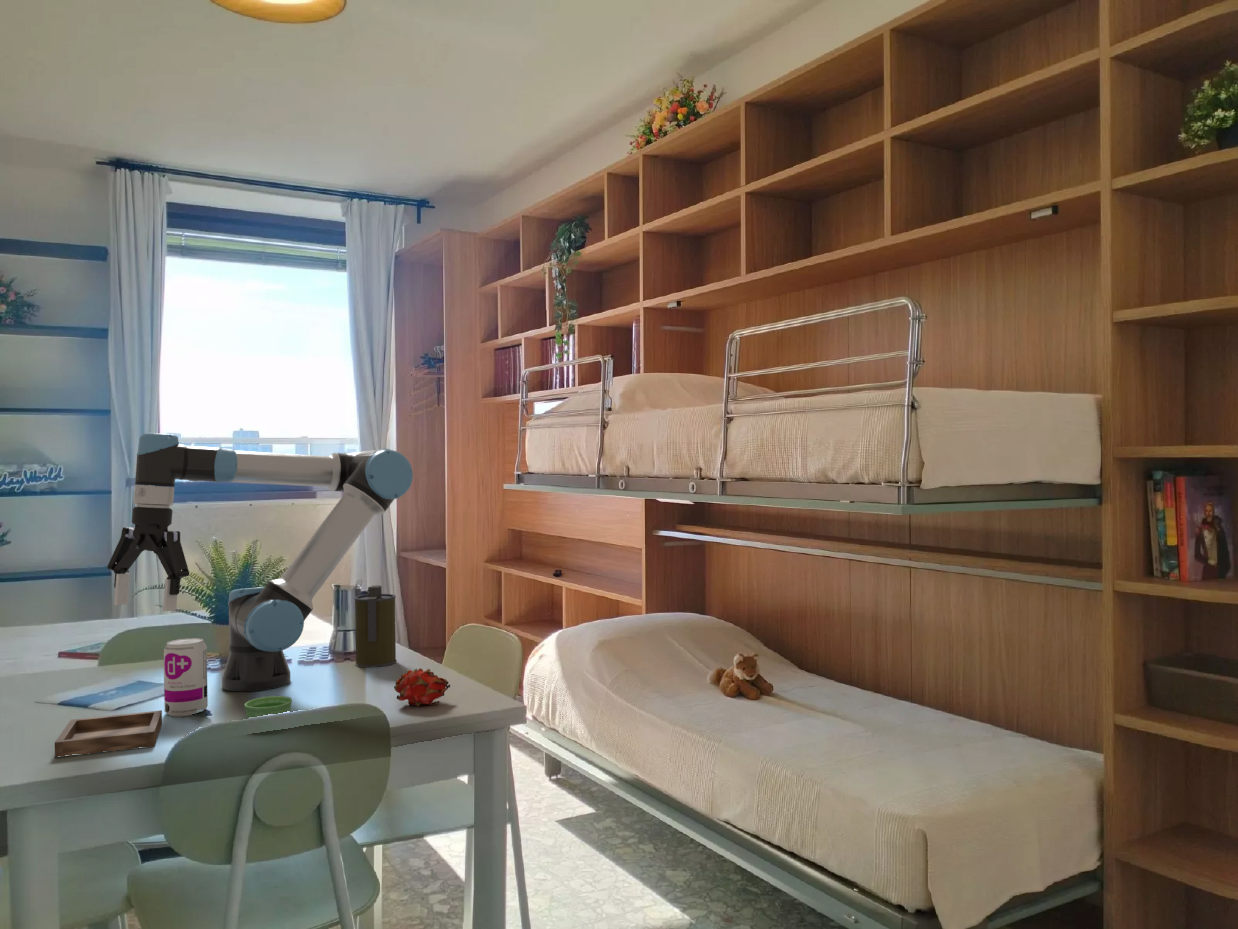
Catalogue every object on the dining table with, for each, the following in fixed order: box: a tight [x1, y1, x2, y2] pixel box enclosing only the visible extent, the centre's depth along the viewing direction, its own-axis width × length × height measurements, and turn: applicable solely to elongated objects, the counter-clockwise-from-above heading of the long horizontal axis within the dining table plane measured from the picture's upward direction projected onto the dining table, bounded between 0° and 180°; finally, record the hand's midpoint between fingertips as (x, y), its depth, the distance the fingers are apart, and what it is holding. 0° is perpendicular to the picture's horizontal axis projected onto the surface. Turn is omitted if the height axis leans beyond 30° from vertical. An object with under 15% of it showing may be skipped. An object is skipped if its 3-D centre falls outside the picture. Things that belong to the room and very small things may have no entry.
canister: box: [354, 584, 397, 669], centre depth 239 cm, size 11×10×20 cm
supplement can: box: [163, 637, 209, 718], centre depth 194 cm, size 8×8×15 cm
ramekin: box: [244, 695, 293, 719], centre depth 186 cm, size 9×9×4 cm
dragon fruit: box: [393, 668, 451, 707], centre depth 198 cm, size 8×8×12 cm
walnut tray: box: [54, 710, 163, 758], centre depth 175 cm, size 16×16×3 cm
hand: (144, 607), depth 193 cm, fingers open, 13 cm apart
